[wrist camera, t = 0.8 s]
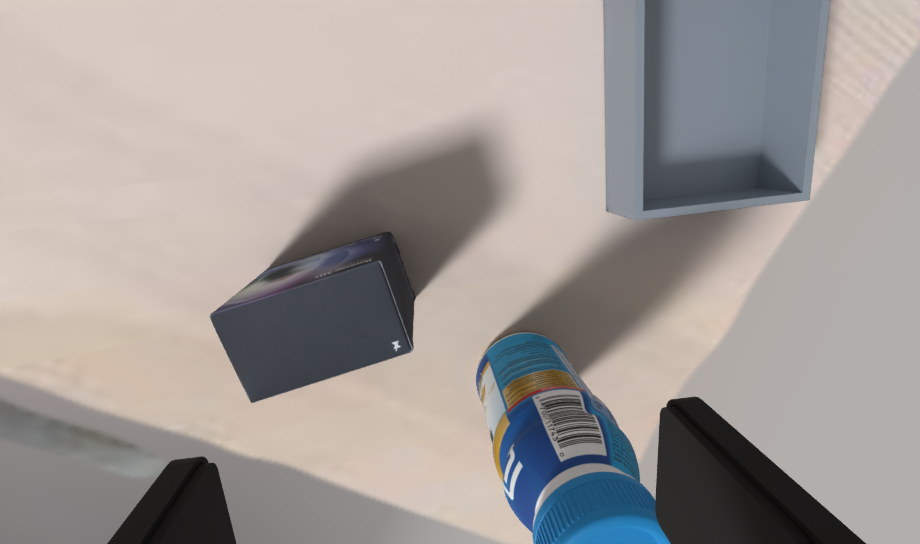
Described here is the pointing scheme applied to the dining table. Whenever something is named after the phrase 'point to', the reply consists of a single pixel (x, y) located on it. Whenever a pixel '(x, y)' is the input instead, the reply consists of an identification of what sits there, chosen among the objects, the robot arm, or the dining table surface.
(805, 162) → the tote
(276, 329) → the small box
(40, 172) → the dining table surface
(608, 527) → the beverage bottle
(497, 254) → the dining table surface
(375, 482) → the dining table surface
